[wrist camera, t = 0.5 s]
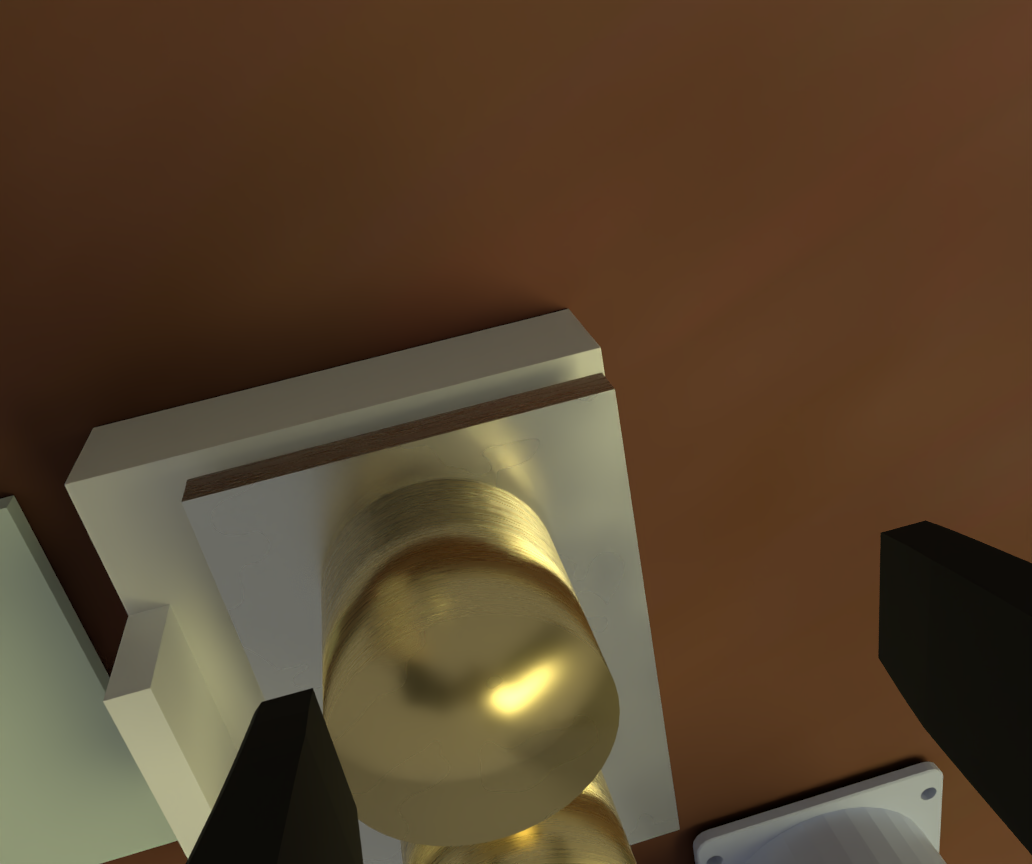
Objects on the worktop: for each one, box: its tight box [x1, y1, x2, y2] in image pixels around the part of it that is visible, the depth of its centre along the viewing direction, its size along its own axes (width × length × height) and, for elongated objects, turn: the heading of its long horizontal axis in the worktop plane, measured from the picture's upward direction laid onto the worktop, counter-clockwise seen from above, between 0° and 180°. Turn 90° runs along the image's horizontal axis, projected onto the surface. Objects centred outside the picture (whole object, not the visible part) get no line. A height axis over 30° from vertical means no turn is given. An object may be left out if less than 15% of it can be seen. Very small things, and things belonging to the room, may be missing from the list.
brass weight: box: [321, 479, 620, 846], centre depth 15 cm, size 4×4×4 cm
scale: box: [64, 309, 605, 858], centre depth 19 cm, size 12×10×5 cm
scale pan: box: [182, 372, 680, 864], centre depth 19 cm, size 12×8×1 cm, turn 11°
